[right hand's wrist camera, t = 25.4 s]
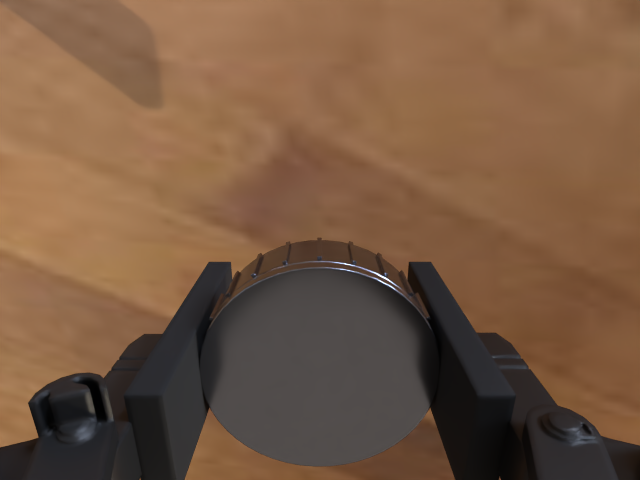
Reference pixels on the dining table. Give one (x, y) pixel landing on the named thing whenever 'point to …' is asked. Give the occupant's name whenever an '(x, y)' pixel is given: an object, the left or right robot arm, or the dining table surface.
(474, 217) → the dining table surface
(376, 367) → the lid
